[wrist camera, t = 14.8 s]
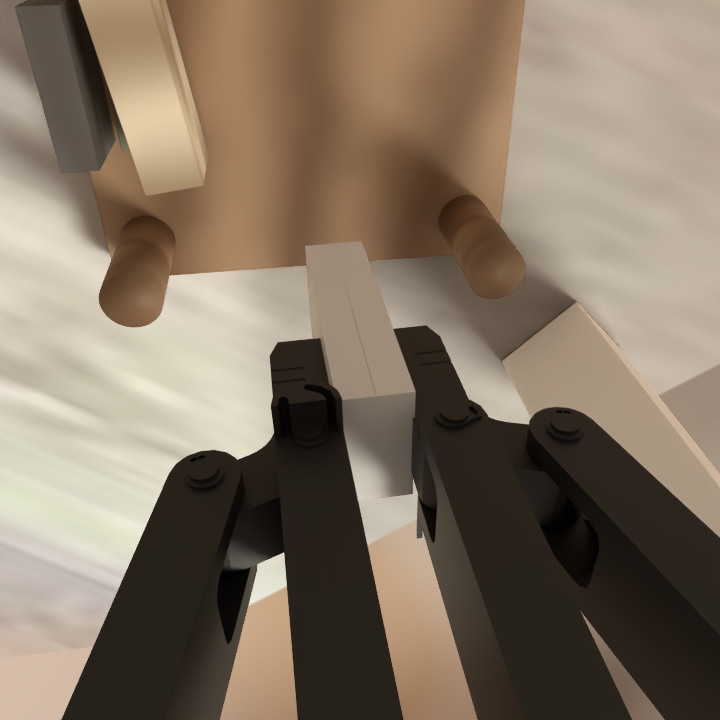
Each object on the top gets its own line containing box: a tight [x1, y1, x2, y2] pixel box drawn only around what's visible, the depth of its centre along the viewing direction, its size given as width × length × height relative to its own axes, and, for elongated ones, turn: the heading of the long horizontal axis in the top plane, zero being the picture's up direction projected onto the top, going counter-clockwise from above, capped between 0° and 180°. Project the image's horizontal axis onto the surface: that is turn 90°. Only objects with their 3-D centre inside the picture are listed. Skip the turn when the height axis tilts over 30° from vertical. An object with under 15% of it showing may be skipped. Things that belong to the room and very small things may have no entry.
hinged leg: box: [79, 0, 208, 196], centre depth 26 cm, size 12×3×5 cm, turn 8°
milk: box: [502, 303, 720, 537], centre depth 35 cm, size 6×6×22 cm
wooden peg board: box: [15, 0, 525, 327], centre depth 28 cm, size 20×20×8 cm
